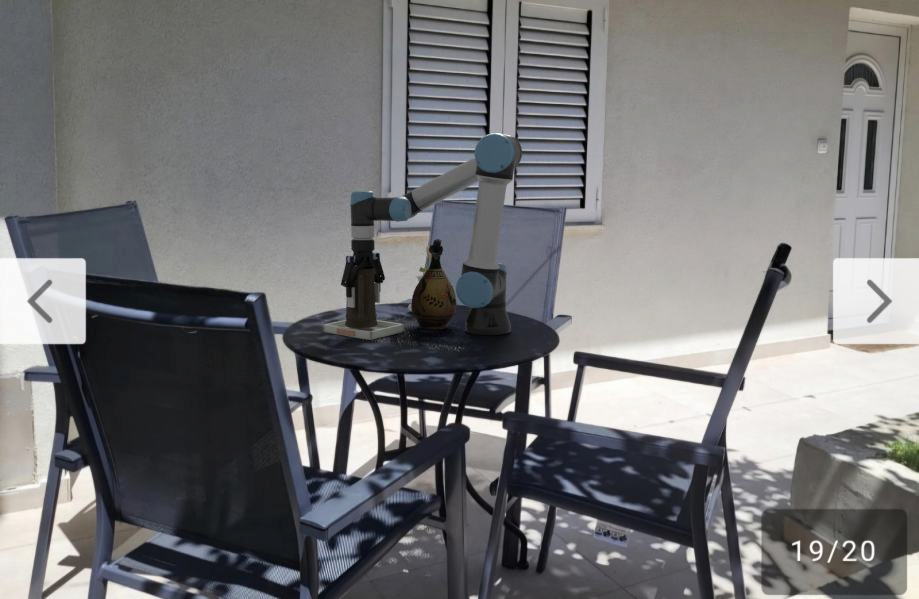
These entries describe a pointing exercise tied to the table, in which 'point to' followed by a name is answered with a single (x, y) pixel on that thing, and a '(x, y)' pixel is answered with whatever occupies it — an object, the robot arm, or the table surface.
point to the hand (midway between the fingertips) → (363, 304)
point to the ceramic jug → (434, 294)
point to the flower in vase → (423, 269)
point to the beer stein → (363, 301)
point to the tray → (365, 329)
